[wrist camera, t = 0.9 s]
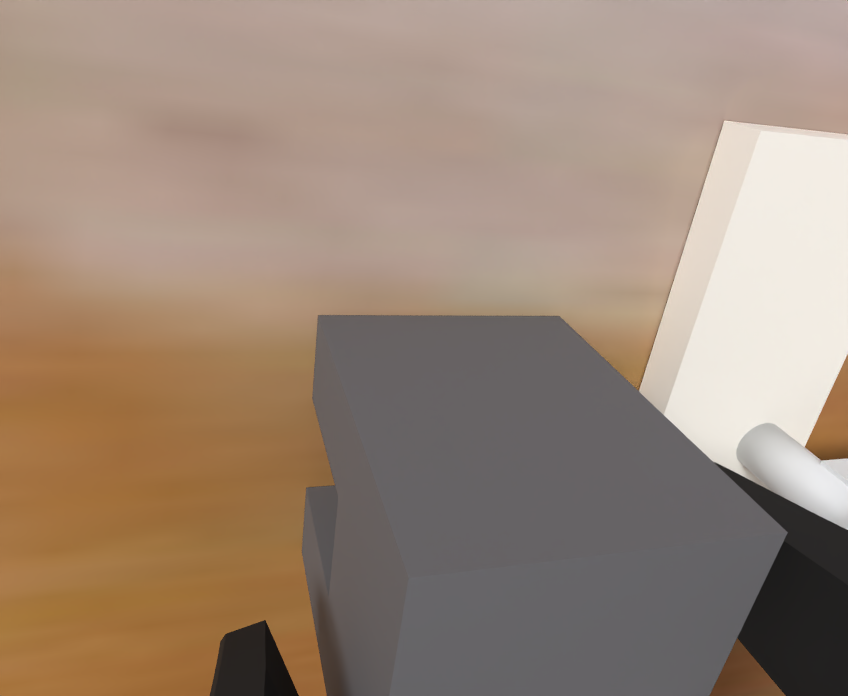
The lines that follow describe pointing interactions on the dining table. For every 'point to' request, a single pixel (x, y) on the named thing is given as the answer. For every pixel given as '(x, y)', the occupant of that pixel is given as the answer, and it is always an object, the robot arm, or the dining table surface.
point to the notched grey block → (515, 519)
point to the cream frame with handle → (762, 312)
